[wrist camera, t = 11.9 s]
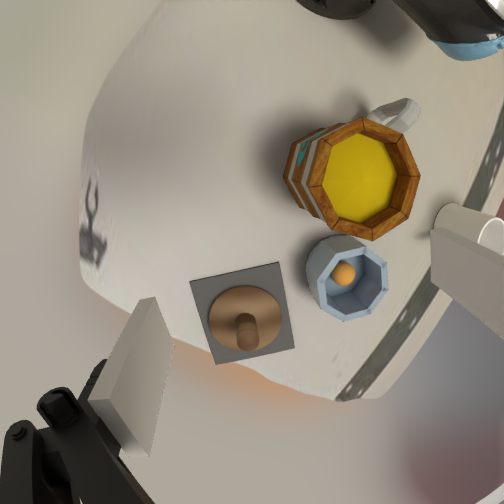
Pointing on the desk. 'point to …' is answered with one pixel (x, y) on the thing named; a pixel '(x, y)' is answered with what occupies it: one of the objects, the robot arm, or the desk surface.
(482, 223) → the mug
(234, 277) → the mat
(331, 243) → the bowl
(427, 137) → the desk surface
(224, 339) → the lid
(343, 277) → the ball
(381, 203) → the mug
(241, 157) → the desk surface
